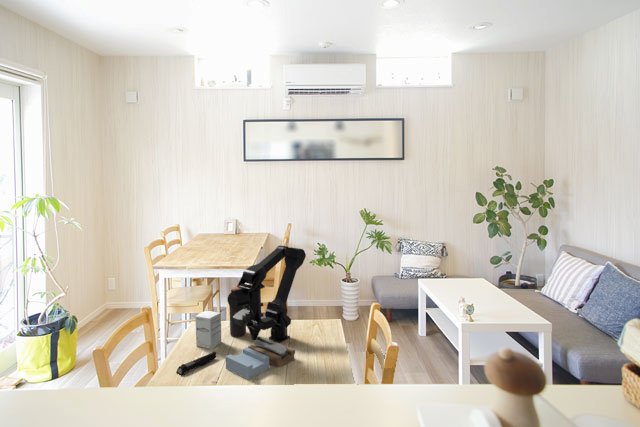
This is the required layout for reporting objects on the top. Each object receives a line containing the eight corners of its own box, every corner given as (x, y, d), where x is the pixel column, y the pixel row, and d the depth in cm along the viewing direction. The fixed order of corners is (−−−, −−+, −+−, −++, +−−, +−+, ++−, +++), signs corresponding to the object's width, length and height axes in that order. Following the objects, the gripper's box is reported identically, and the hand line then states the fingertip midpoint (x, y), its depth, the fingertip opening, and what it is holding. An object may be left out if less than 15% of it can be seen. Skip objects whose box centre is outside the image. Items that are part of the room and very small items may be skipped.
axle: (254, 348, 154) (254, 338, 154) (262, 345, 157) (262, 335, 157) (280, 359, 145) (280, 348, 145) (288, 355, 148) (288, 345, 148)
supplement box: (195, 346, 161) (194, 315, 160) (207, 339, 168) (206, 309, 167) (210, 349, 159) (209, 318, 157) (222, 342, 165) (221, 312, 164)
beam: (248, 355, 153) (248, 346, 153) (265, 347, 160) (265, 338, 160) (277, 368, 143) (277, 358, 143) (295, 359, 150) (295, 350, 150)
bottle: (227, 336, 171) (225, 290, 169) (234, 330, 177) (233, 285, 175) (242, 337, 169) (241, 291, 167) (248, 331, 176) (247, 286, 174)
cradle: (226, 368, 143) (225, 356, 143) (247, 358, 150) (246, 347, 150) (248, 379, 135) (247, 366, 135) (269, 368, 143) (269, 356, 142)
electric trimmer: (218, 360, 150) (218, 352, 150) (181, 377, 138) (181, 368, 138) (212, 358, 152) (212, 349, 152) (175, 373, 140) (175, 365, 140)
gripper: (221, 301, 156) (222, 340, 157) (253, 312, 144) (254, 354, 145) (244, 294, 164) (245, 331, 166) (275, 304, 152) (276, 344, 154)
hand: (254, 340), depth 157 cm, fingers closed
